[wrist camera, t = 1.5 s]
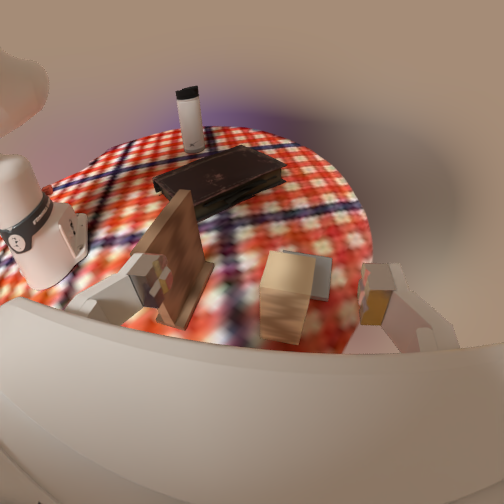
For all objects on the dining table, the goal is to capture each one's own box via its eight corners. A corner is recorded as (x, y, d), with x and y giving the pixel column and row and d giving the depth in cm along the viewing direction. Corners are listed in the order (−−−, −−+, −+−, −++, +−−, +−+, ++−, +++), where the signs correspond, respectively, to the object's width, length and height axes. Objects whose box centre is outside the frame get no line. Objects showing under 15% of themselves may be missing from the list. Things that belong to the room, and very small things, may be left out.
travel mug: (196, 155, 73) (187, 88, 59) (180, 152, 76) (170, 89, 62) (210, 147, 77) (203, 84, 63) (193, 144, 80) (186, 84, 65)
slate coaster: (273, 292, 39) (273, 289, 39) (282, 253, 45) (283, 250, 44) (327, 301, 38) (328, 298, 37) (331, 261, 43) (332, 258, 43)
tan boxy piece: (260, 338, 34) (259, 286, 26) (269, 305, 38) (270, 249, 30) (298, 345, 33) (310, 295, 25) (304, 312, 37) (316, 256, 29)
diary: (155, 193, 61) (150, 175, 58) (240, 159, 72) (239, 142, 68) (191, 231, 50) (186, 209, 47) (289, 185, 61) (289, 165, 57)
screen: (185, 330, 35) (153, 259, 25) (157, 322, 36) (119, 252, 26) (214, 266, 43) (200, 191, 33) (189, 261, 44) (170, 188, 34)
